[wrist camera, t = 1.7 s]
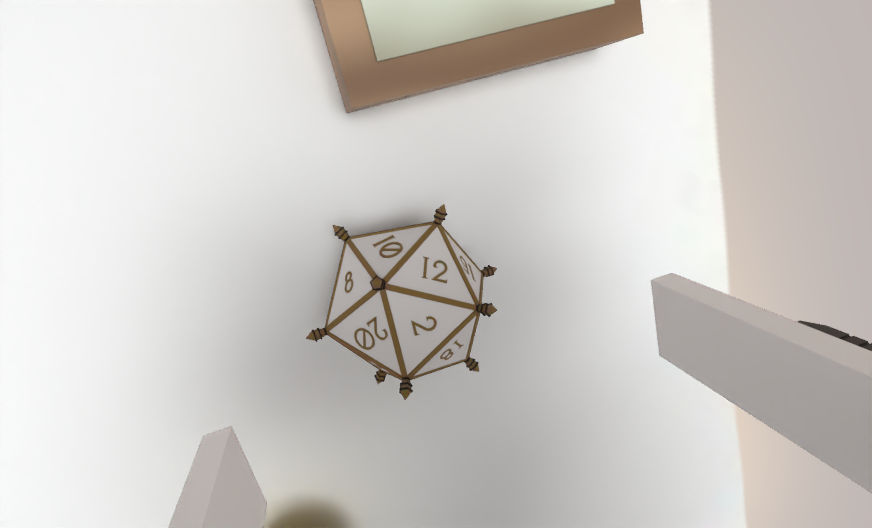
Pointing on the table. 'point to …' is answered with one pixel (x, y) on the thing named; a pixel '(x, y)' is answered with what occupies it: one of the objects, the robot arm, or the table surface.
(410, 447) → the table surface
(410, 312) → the game die
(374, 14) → the framed mirror
